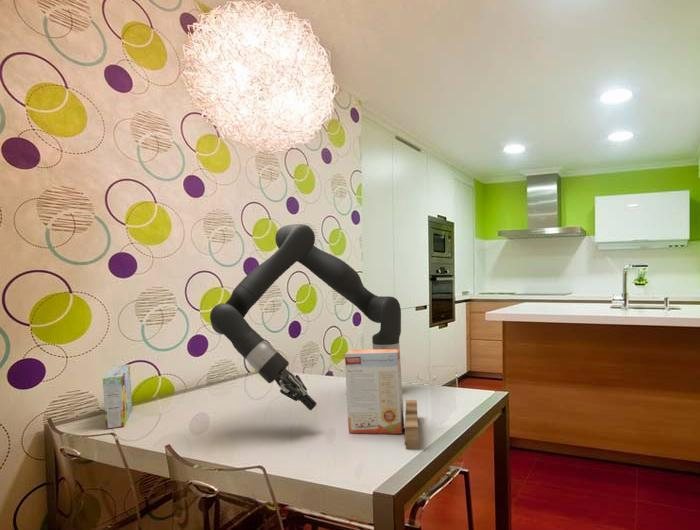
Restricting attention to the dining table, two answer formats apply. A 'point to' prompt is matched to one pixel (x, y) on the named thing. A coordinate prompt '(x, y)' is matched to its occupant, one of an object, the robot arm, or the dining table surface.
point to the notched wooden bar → (411, 425)
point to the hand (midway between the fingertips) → (313, 407)
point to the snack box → (117, 396)
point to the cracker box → (374, 391)
